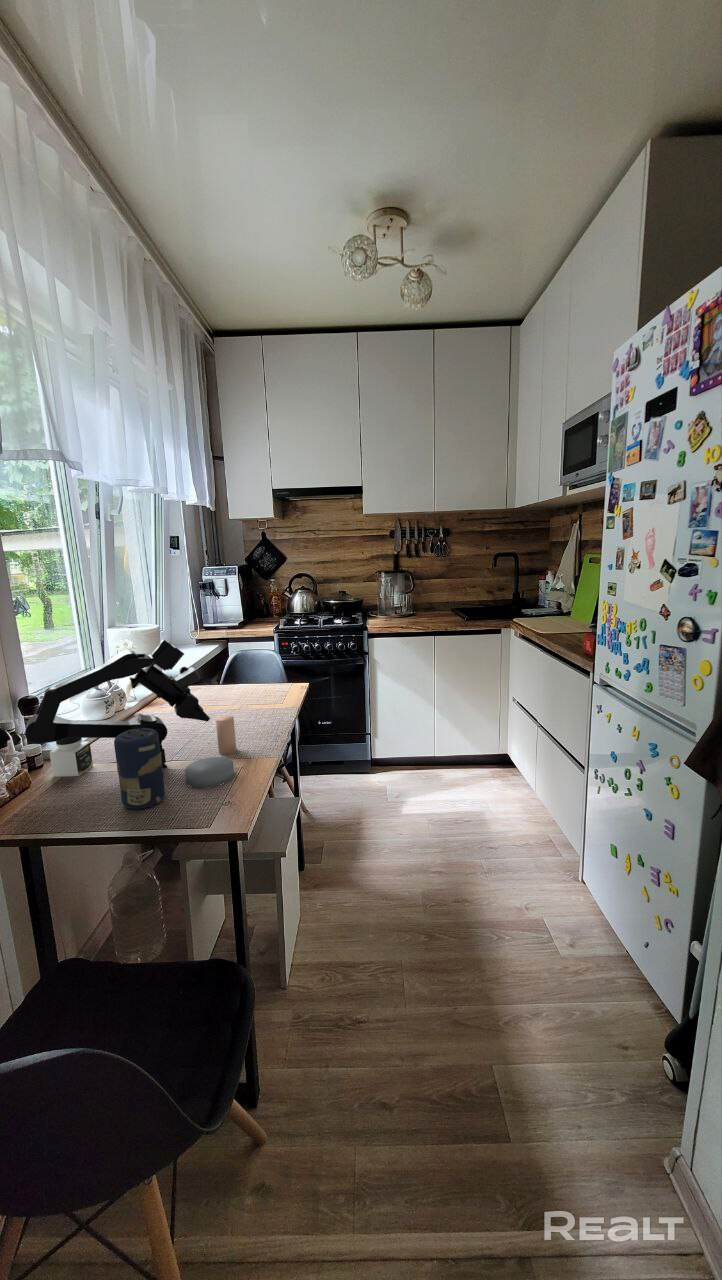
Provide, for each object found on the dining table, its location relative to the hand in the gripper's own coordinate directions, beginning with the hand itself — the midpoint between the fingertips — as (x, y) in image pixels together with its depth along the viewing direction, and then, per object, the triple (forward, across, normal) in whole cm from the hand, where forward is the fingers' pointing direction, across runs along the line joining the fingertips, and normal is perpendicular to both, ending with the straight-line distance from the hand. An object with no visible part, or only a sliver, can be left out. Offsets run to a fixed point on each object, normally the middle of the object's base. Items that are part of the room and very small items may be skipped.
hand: (205, 715), depth 144 cm
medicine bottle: (-16, +10, +33) cm, 38 cm away
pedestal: (+6, -15, +10) cm, 19 cm away
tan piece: (+12, 0, +5) cm, 13 cm away
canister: (-5, -20, +22) cm, 30 cm away
